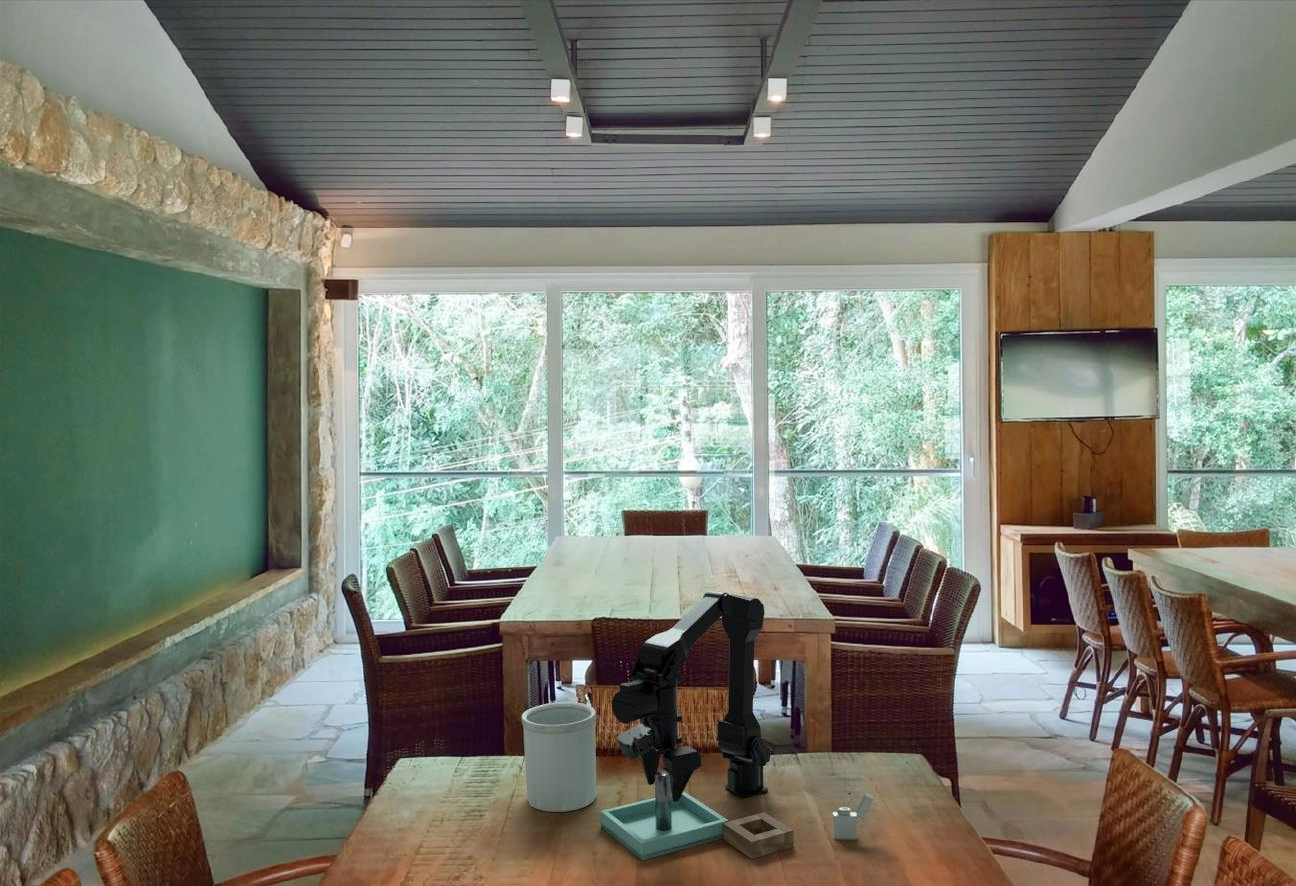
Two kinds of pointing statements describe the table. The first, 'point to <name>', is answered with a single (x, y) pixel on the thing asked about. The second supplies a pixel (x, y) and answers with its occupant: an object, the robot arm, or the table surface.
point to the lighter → (849, 819)
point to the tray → (645, 841)
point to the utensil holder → (560, 756)
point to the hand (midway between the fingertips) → (663, 792)
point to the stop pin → (663, 801)
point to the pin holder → (758, 835)
